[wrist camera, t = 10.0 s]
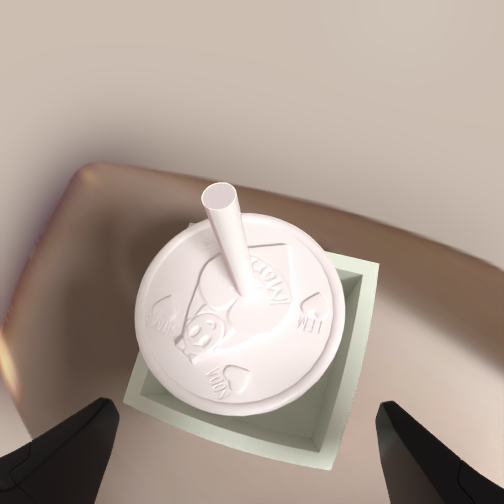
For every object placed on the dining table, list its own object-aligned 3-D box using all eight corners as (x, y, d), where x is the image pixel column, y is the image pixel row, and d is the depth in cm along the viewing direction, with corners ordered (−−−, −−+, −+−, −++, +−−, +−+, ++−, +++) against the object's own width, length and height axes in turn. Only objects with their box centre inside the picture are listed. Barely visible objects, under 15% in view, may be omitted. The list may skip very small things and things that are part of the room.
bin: (319, 451, 14) (330, 470, 10) (156, 401, 16) (122, 402, 12) (359, 291, 18) (379, 263, 14) (208, 256, 21) (190, 222, 17)
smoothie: (334, 344, 17) (460, 202, 4) (262, 425, 15) (198, 532, 2) (254, 280, 19) (208, 74, 6) (184, 353, 17) (3, 246, 5)
